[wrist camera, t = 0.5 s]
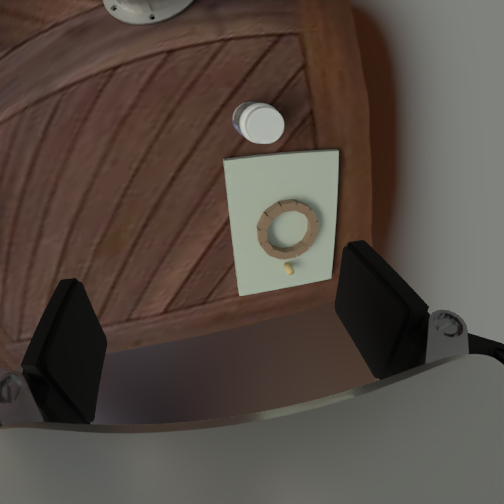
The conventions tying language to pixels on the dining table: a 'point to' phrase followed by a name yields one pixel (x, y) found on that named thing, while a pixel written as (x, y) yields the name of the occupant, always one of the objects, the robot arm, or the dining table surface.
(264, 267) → the socket board
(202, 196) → the dining table surface
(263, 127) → the pill bottle
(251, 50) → the dining table surface
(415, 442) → the robot arm
